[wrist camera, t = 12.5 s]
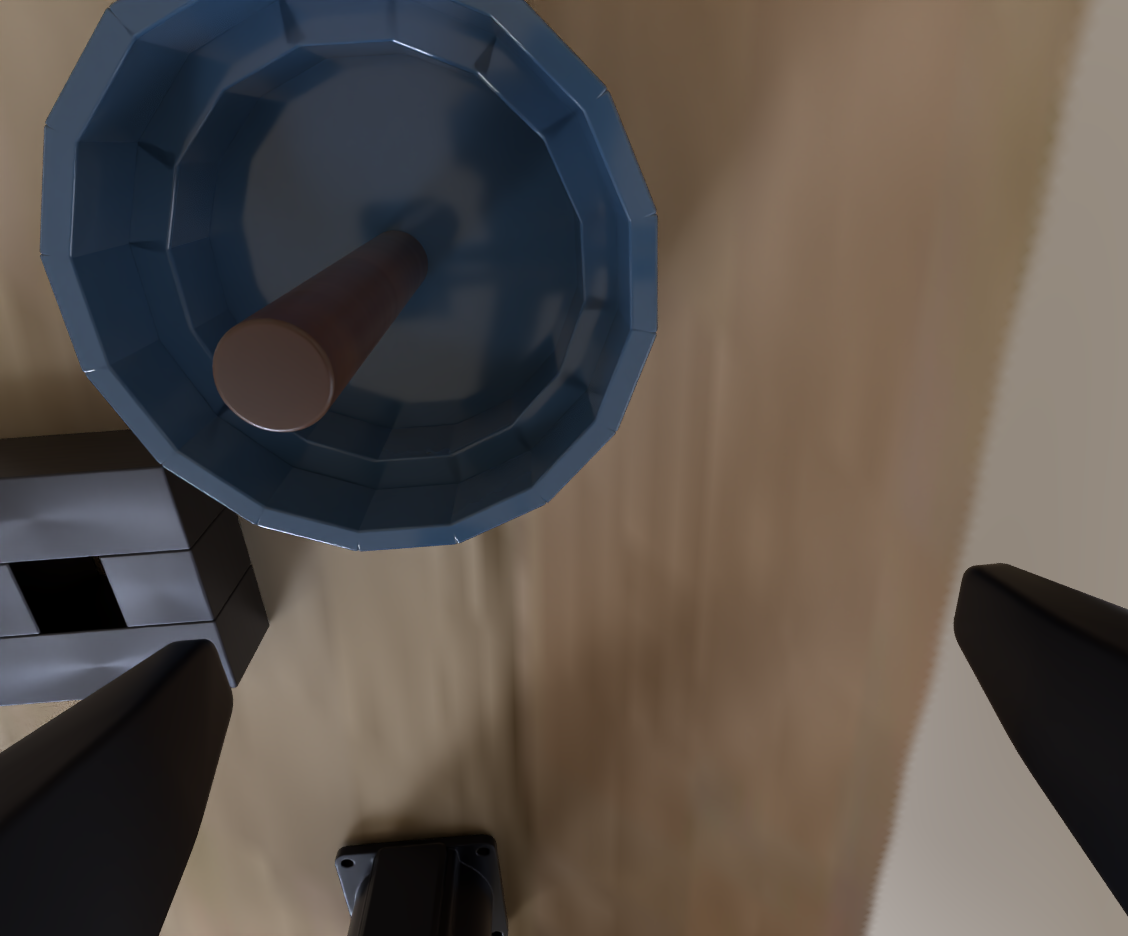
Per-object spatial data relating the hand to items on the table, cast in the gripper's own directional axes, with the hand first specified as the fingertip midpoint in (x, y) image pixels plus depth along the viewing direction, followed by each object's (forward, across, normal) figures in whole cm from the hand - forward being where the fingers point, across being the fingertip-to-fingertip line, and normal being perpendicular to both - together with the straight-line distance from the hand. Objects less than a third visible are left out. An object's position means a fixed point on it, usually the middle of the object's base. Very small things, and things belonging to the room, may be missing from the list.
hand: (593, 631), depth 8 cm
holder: (+13, +14, +5) cm, 20 cm away
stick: (+12, +4, -3) cm, 13 cm away
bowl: (+13, +4, -3) cm, 14 cm away
